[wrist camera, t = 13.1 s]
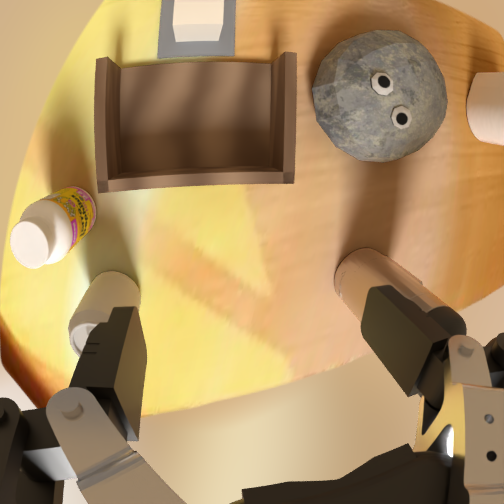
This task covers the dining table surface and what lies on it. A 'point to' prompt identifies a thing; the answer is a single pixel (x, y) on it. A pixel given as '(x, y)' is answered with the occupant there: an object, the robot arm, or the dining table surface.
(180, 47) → the slate mat
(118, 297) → the can
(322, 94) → the decorative stone
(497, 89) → the toilet tissue
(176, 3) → the cream block
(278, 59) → the walnut box
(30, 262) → the supplement bottle
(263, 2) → the dining table surface
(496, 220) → the dining table surface
